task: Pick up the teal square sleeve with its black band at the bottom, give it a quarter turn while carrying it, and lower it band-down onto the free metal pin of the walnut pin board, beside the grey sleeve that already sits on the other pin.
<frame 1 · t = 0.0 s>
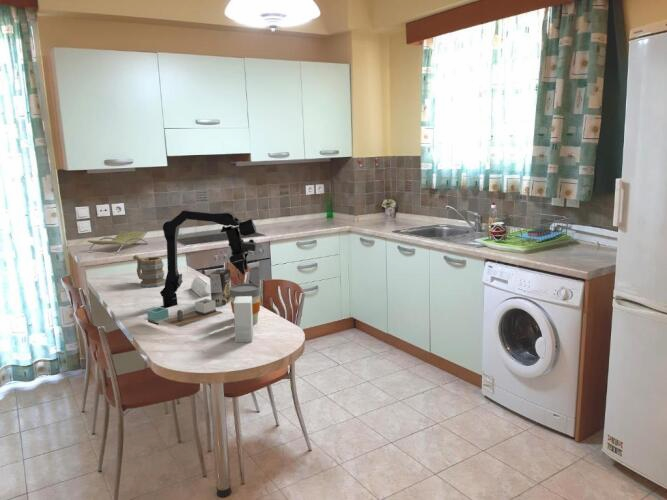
hand: (245, 271, 239), 15 cm above the table, tool pointing down, fingers open, 9 cm apart
reusable coffee cup: (246, 323, 217), on the table
coffee box: (222, 306, 241), on the table
grey sleeve: (205, 312, 227), point 1 cm above the table, touching pin board
tankard: (149, 283, 283), on the table
pin board: (193, 320, 222), on the table
skincare box: (244, 339, 199), on the table
teal sleeve: (158, 321, 221), on the table
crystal: (203, 293, 263), on the table
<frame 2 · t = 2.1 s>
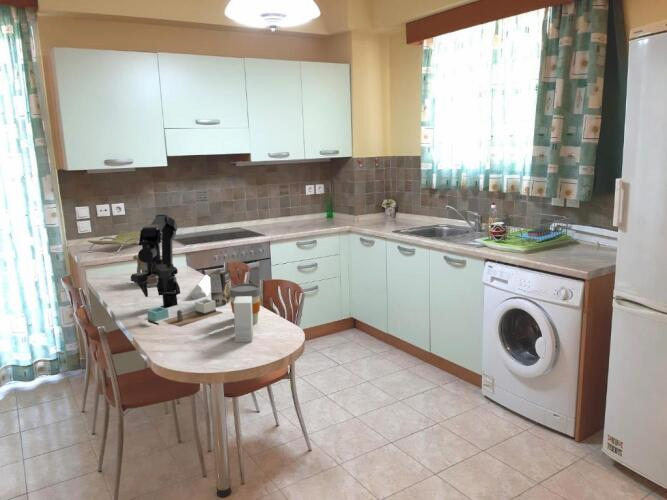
hand: (156, 294, 219), 12 cm above the table, tool pointing down, fingers open, 9 cm apart
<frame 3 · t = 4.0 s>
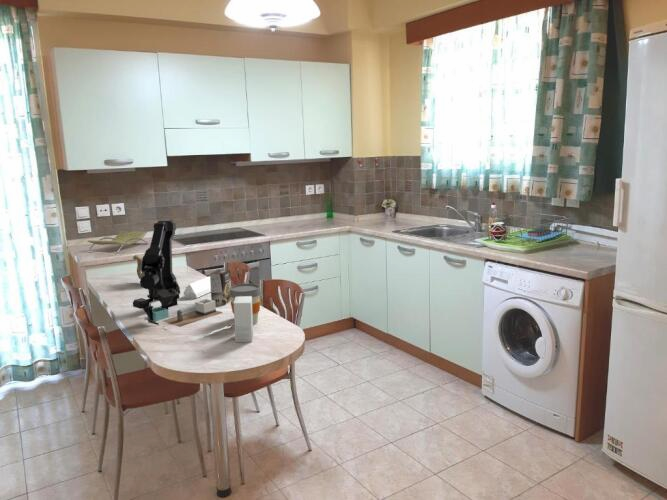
hand: (158, 318, 221), 1 cm above the table, tool pointing down, fingers closed on teal sleeve, 6 cm apart
teal sleeve: (158, 321, 221), on the table, touching gripper
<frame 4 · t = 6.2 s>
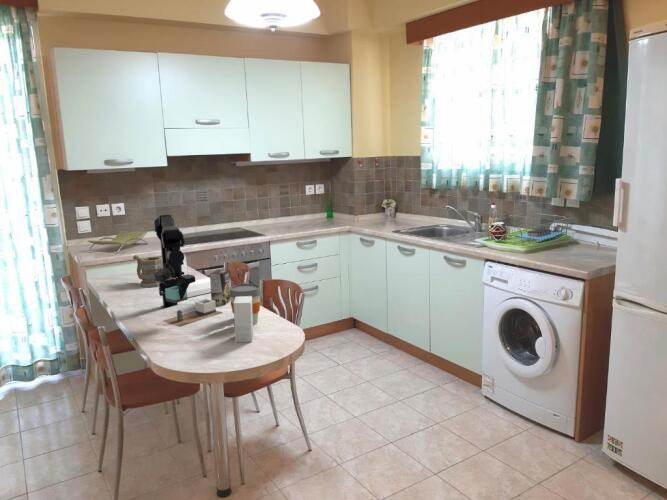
hand: (176, 297, 215), 11 cm above the table, tool pointing down, fingers closed on teal sleeve, 6 cm apart
teal sleeve: (176, 300, 215), point 10 cm above the table, touching gripper
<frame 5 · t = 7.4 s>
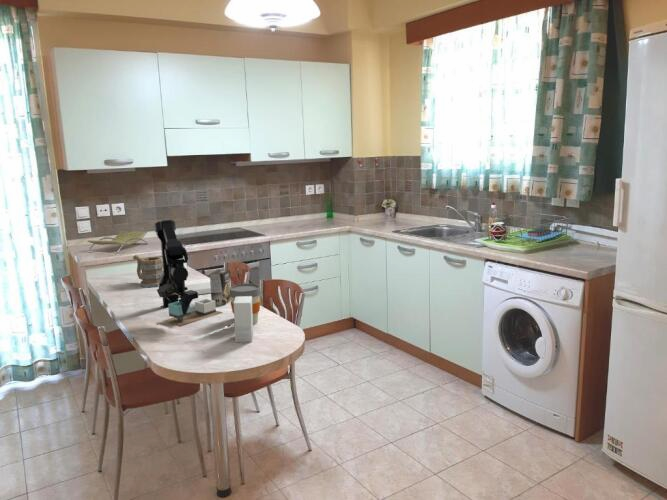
hand: (179, 312, 216), 5 cm above the table, tool pointing down, fingers closed on teal sleeve, 6 cm apart
teal sleeve: (179, 315, 216), point 4 cm above the table, touching gripper
when the fingers open (4 cm above the table, at t = 8.3 s): teal sleeve drops 2 cm, resting on pin board.
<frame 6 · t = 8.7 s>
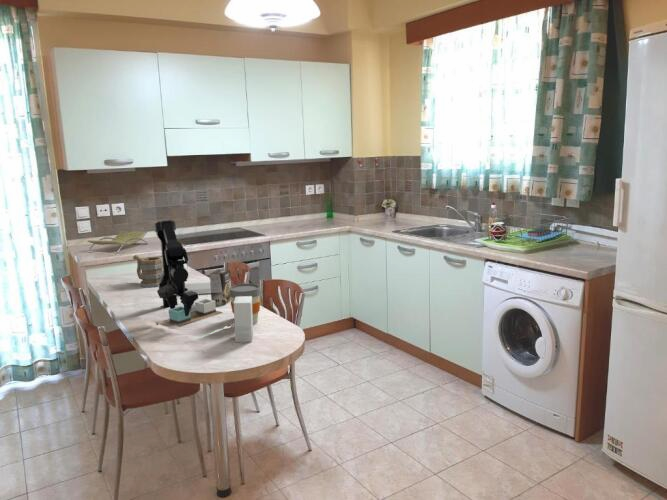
hand: (179, 313, 216), 4 cm above the table, tool pointing down, fingers open, 9 cm apart
teal sleeve: (180, 320, 217), point 1 cm above the table, touching pin board
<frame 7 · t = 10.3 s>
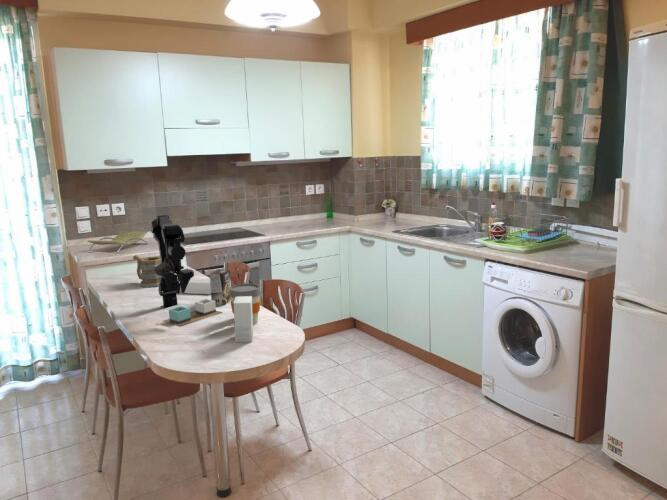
hand: (176, 290, 224), 12 cm above the table, tool pointing down, fingers open, 9 cm apart
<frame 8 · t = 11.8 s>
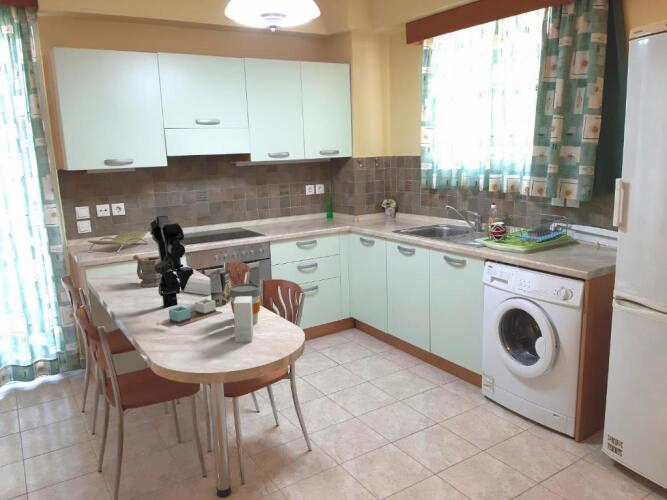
hand: (175, 289, 225), 12 cm above the table, tool pointing down, fingers open, 9 cm apart
at the end: teal sleeve 0.0 cm from the target spot on the pin board, point 1.5 cm above the pin board's base; teal sleeve tilted 0°; grey sleeve moved 0.0 cm from its start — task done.
